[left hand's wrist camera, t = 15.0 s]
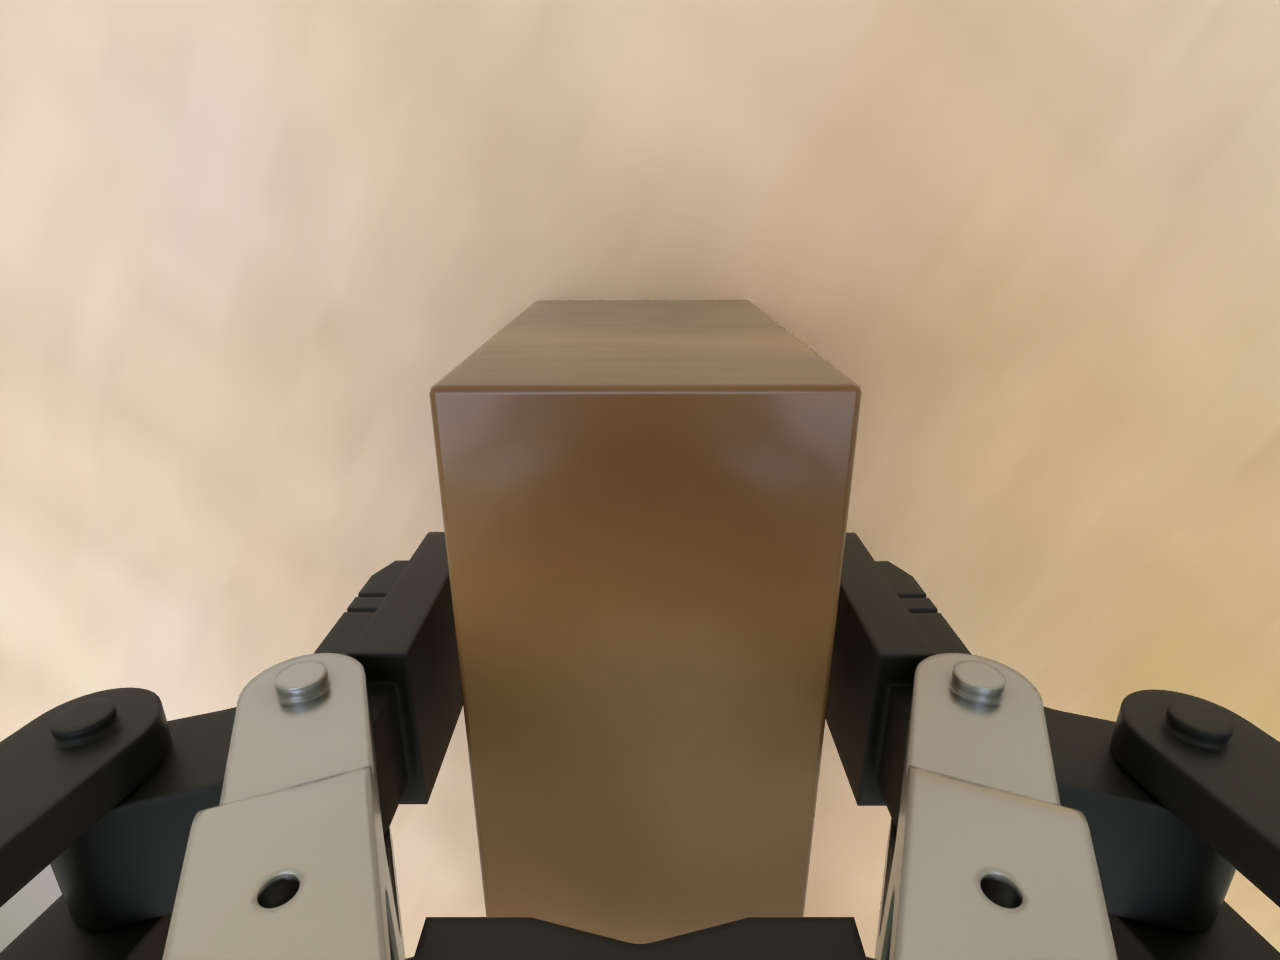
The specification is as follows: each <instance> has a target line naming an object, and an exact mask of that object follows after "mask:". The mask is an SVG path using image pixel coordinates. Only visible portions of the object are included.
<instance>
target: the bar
mask: <svg viewBox="0 0 1280 960" xmlns="http://www.w3.org/2000/svg"><path fill="white" fill-rule="evenodd" d="M860 401H861V390H860V387H859V386H858V385H857V384H856V383H854V382H853V381H852V380H850V379H849V378H848V377H846V376H845V375H844V374H843V373H841V372H840V371H839V370H837V369H836V368H835V367H834V366H832V365H831V364H830V363H828V362H827V361H826V360H824V359H823V358H822V357H821V356H819V355H818V354H817V353H815V352H814V351H813V350H811V349H810V348H809V347H808V346H806V345H805V344H804V343H802V342H801V341H800V340H799V339H797V338H796V337H795V336H793V335H792V334H791V333H789V332H788V331H787V330H786V329H784V328H783V327H782V326H780V325H779V324H778V323H776V322H775V321H774V320H773V319H771V318H770V317H769V316H767V315H766V314H765V313H764V312H762V311H761V310H760V309H758V308H757V307H756V306H754V305H753V304H752V303H751V302H749V301H747V300H729V301H537V302H535V303H534V304H532V305H531V306H530V307H529V308H528V309H526V310H525V311H524V312H523V313H521V314H520V315H519V316H518V317H517V318H515V319H514V320H513V321H512V322H510V323H509V324H508V325H507V326H506V327H504V328H503V329H502V330H501V331H500V332H498V333H497V334H496V335H495V336H493V337H492V338H491V339H490V340H489V341H487V342H486V343H485V344H484V345H482V346H481V347H480V348H479V349H478V350H476V351H475V352H474V353H473V354H471V355H470V356H469V357H468V358H467V359H465V360H464V361H463V362H462V363H461V364H459V365H458V366H457V367H456V368H454V369H453V370H452V371H451V372H450V373H448V374H447V375H446V376H445V377H443V378H442V379H441V380H440V381H439V382H437V383H436V384H435V385H434V386H433V387H431V390H430V402H431V411H432V420H433V430H434V439H435V448H436V457H437V467H438V476H439V485H440V494H441V503H442V513H443V522H444V531H445V540H446V549H447V559H448V568H449V577H450V586H451V595H452V605H453V614H454V623H455V632H456V641H457V651H458V660H459V669H460V678H461V688H462V697H463V706H464V715H465V724H466V734H467V743H468V752H469V761H470V770H471V780H472V789H473V798H474V807H475V816H476V826H477V835H478V844H479V853H480V863H481V872H482V881H483V890H484V899H485V909H486V917H532V918H536V919H540V920H543V921H547V922H551V923H555V924H559V925H563V926H567V927H570V928H574V929H578V930H582V931H586V932H590V933H593V934H597V935H601V936H605V937H609V938H613V939H617V940H620V941H624V942H628V943H634V944H646V943H652V942H656V941H660V940H663V939H667V938H671V937H675V936H679V935H683V934H687V933H690V932H694V931H698V930H702V929H706V928H710V927H713V926H717V925H721V924H725V923H729V922H733V921H737V920H740V919H744V918H748V917H803V916H804V907H805V898H806V889H807V880H808V871H809V862H810V853H811V844H812V835H813V826H814V817H815V808H816V798H817V789H818V780H819V771H820V762H821V753H822V744H823V735H824V726H825V717H826V708H827V699H828V690H829V681H830V672H831V663H832V654H833V645H834V636H835V627H836V618H837V609H838V600H839V591H840V582H841V573H842V563H843V554H844V545H845V536H846V527H847V518H848V509H849V500H850V491H851V482H852V473H853V464H854V455H855V446H856V437H857V428H858V419H859V410H860Z"/></svg>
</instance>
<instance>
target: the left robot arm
mask: <svg viewBox="0 0 1280 960" xmlns="http://www.w3.org/2000/svg"><path fill="white" fill-rule="evenodd" d="M462 707H463V697H462V688H461V678H460V669H459V660H458V651H457V641H456V632H455V623H454V614H453V605H452V595H451V586H450V577H449V568H448V559H447V549H446V540H445V532H429V533H428V534H427V535H426V537H425V538H424V540H423V541H422V543H421V544H420V546H419V547H418V549H417V550H416V552H415V553H414V555H413V556H412V558H411V559H410V561H394V562H393V563H391V564H390V565H388V566H387V567H385V568H383V569H382V570H380V571H379V572H377V573H376V574H374V575H372V576H371V577H370V579H369V580H368V581H367V583H366V584H365V586H364V587H363V588H362V590H361V591H360V592H359V594H358V597H356V598H355V599H354V600H353V602H352V603H351V604H350V606H349V607H348V608H347V612H344V614H343V615H342V616H341V618H340V619H339V620H338V622H337V623H336V624H335V626H334V627H333V628H332V630H331V631H330V632H329V634H328V635H327V636H326V638H325V639H324V640H323V642H322V643H321V644H320V646H319V647H318V648H317V650H316V651H315V653H314V654H310V655H304V656H300V657H296V658H293V659H290V660H287V661H284V662H281V663H279V664H277V665H274V666H272V667H271V668H269V669H267V670H265V671H263V672H262V673H260V674H259V675H257V676H256V677H255V678H254V679H253V680H251V681H250V682H249V683H248V684H247V685H246V686H245V688H244V689H243V691H242V692H241V694H240V696H239V699H238V703H237V707H235V708H231V709H226V710H222V711H217V712H212V713H207V714H202V715H197V716H192V717H187V718H182V719H177V720H172V721H167V720H166V716H165V713H164V710H163V706H162V703H161V700H160V698H159V697H158V696H157V695H156V694H155V693H153V692H151V691H149V690H145V689H141V688H117V689H110V690H105V691H100V692H96V693H92V694H89V695H85V696H82V697H79V698H76V699H74V700H71V701H69V702H66V703H64V704H62V705H59V706H57V707H55V708H53V709H51V710H49V711H48V712H46V713H44V714H42V715H41V716H39V717H38V718H36V719H34V720H33V721H31V722H30V723H28V724H27V725H25V726H24V727H22V728H21V729H19V730H18V731H16V732H15V733H13V734H12V735H10V736H9V737H7V738H6V739H4V740H3V741H1V742H0V907H1V906H2V905H4V904H5V903H6V902H7V901H8V900H9V899H10V898H11V897H13V896H14V895H15V894H16V893H17V892H18V891H19V890H21V889H22V888H23V887H24V886H25V885H26V884H27V883H29V882H30V881H31V880H32V879H33V878H34V877H35V876H36V875H38V874H39V873H40V872H41V871H42V870H43V869H44V868H46V867H47V866H48V865H49V864H51V867H52V869H53V872H54V874H55V877H56V880H57V882H58V885H59V887H60V890H61V892H62V895H61V896H60V897H59V898H58V899H57V900H56V901H55V902H54V903H53V904H52V905H51V906H50V907H49V908H48V909H47V910H46V911H44V912H43V913H42V914H41V915H40V916H39V917H38V918H37V919H36V920H35V921H34V922H33V923H32V924H31V925H30V926H28V927H27V928H26V929H25V930H24V931H23V932H22V933H21V934H20V935H19V936H18V937H17V938H16V939H15V940H14V941H12V942H11V943H10V944H9V945H8V946H7V947H6V948H5V949H4V950H3V951H2V952H1V953H0V960H1280V953H1279V952H1278V951H1277V950H1276V949H1275V948H1274V947H1273V946H1272V945H1271V944H1270V943H1269V942H1268V941H1266V940H1265V939H1264V938H1263V937H1262V936H1261V935H1260V934H1259V933H1258V932H1257V931H1256V930H1255V929H1254V928H1253V927H1252V926H1250V925H1249V924H1248V923H1247V922H1246V921H1245V920H1244V919H1243V918H1242V917H1241V916H1240V915H1239V914H1238V913H1237V912H1236V911H1235V910H1233V909H1232V908H1231V907H1230V906H1229V905H1228V904H1227V903H1226V902H1225V901H1224V898H1225V896H1226V893H1227V891H1228V888H1229V886H1230V883H1231V881H1232V878H1233V876H1234V873H1235V871H1236V869H1237V870H1238V871H1239V872H1240V873H1241V874H1242V875H1244V876H1245V877H1246V878H1247V879H1248V880H1249V881H1250V882H1251V883H1253V884H1254V885H1255V886H1256V887H1257V888H1258V889H1259V890H1261V891H1262V892H1263V893H1264V894H1265V895H1266V896H1267V897H1269V898H1270V899H1271V900H1272V901H1273V902H1274V903H1275V904H1276V905H1278V906H1279V907H1280V742H1279V741H1277V740H1276V739H1274V738H1273V737H1271V736H1270V735H1268V734H1267V733H1265V732H1264V731H1262V730H1261V729H1259V728H1258V727H1256V726H1255V725H1253V724H1252V723H1250V722H1249V721H1247V720H1245V719H1244V718H1242V717H1241V716H1239V715H1237V714H1235V713H1233V712H1232V711H1230V710H1228V709H1226V708H1224V707H1221V706H1219V705H1217V704H1214V703H1212V702H1209V701H1206V700H1204V699H1201V698H1198V697H1194V696H1191V695H1187V694H1183V693H1178V692H1173V691H1166V690H1142V691H1137V692H1134V693H1132V694H1129V695H1128V696H1127V697H1126V698H1124V700H1123V702H1122V704H1121V707H1120V711H1119V714H1118V718H1117V721H1116V722H1113V721H1108V720H1103V719H1098V718H1092V717H1087V716H1082V715H1077V714H1072V713H1067V712H1062V711H1058V710H1054V709H1050V708H1047V707H1044V706H1043V703H1042V699H1041V696H1040V694H1039V692H1038V691H1037V689H1036V688H1035V686H1034V685H1033V684H1032V683H1031V682H1030V681H1029V680H1027V679H1026V678H1025V677H1024V676H1023V675H1021V674H1020V673H1018V672H1017V671H1015V670H1013V669H1011V668H1009V667H1008V666H1006V665H1003V664H1001V663H999V662H996V661H993V660H990V659H988V658H984V657H980V656H976V655H971V653H970V652H969V651H968V649H967V648H966V647H965V645H964V644H963V643H962V641H961V640H960V639H959V637H958V636H957V635H956V633H955V632H954V631H953V629H952V628H951V627H950V625H949V624H948V623H947V621H946V620H945V619H944V618H943V616H942V615H941V614H940V613H937V608H936V607H935V606H934V604H933V603H932V602H931V600H930V599H929V598H926V594H925V592H924V591H923V590H922V588H921V587H920V586H919V584H918V583H917V582H916V581H915V579H914V578H913V577H912V576H911V575H909V574H908V573H906V572H904V571H903V570H901V569H900V568H898V567H896V566H895V565H893V564H892V563H890V562H888V561H874V559H873V558H872V556H871V555H870V553H869V552H868V551H867V549H866V548H865V546H864V545H863V543H862V542H861V540H860V539H859V537H858V536H857V535H856V533H846V536H845V545H844V554H843V563H842V573H841V582H840V591H839V600H838V609H837V618H836V627H835V636H834V645H833V654H832V663H831V672H830V681H829V690H828V699H827V708H826V717H825V718H826V721H827V724H828V726H829V729H830V732H831V734H832V737H833V740H834V743H835V745H836V748H837V751H838V753H839V756H840V759H841V762H842V764H843V767H844V770H845V772H846V775H847V778H848V780H849V783H850V786H851V789H852V791H853V794H854V797H855V799H856V802H857V805H858V806H887V808H888V810H889V812H890V815H891V817H892V818H891V824H890V830H889V836H888V842H887V851H886V860H885V869H884V878H883V887H882V896H881V906H880V915H879V924H878V933H877V942H876V951H875V959H873V958H870V957H866V956H865V953H864V949H863V946H862V943H861V939H860V936H859V933H858V930H857V926H856V923H855V920H854V917H748V918H744V919H740V920H737V921H733V922H729V923H725V924H721V925H717V926H713V927H710V928H706V929H702V930H698V931H694V932H690V933H687V934H683V935H679V936H675V937H671V938H667V939H663V940H660V941H656V942H652V943H646V944H634V943H628V942H624V941H620V940H617V939H613V938H609V937H605V936H601V935H597V934H593V933H590V932H586V931H582V930H578V929H574V928H570V927H567V926H563V925H559V924H555V923H551V922H547V921H543V920H540V919H536V918H532V917H426V920H425V923H424V926H423V930H422V933H421V936H420V939H419V943H418V946H417V949H416V953H415V956H414V957H410V958H407V959H405V951H404V942H403V933H402V924H401V915H400V906H399V896H398V887H397V878H396V869H395V860H394V851H393V842H392V836H391V830H390V824H391V822H392V819H393V817H394V814H395V812H396V809H397V807H398V805H399V804H427V803H428V801H429V798H430V795H431V792H432V789H433V787H434V784H435V781H436V778H437V776H438V773H439V770H440V767H441V765H442V762H443V759H444V756H445V754H446V751H447V748H448V745H449V743H450V740H451V737H452V734H453V731H454V729H455V726H456V723H457V720H458V718H459V715H460V712H461V709H462Z"/></svg>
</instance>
